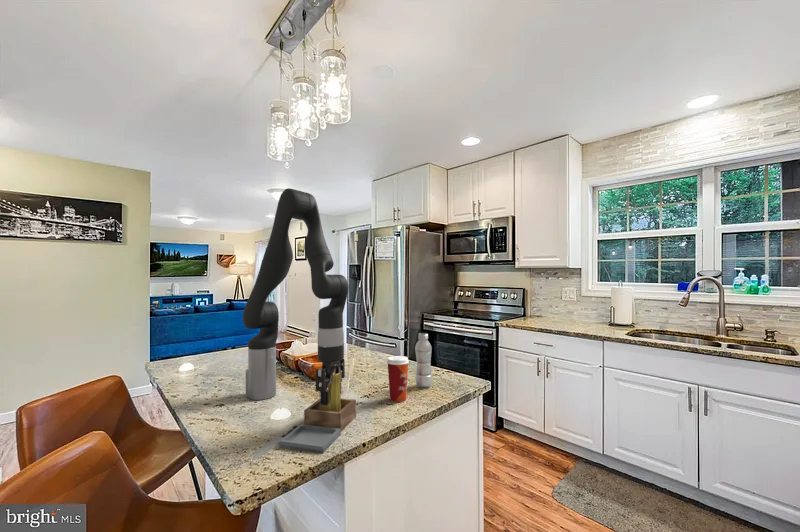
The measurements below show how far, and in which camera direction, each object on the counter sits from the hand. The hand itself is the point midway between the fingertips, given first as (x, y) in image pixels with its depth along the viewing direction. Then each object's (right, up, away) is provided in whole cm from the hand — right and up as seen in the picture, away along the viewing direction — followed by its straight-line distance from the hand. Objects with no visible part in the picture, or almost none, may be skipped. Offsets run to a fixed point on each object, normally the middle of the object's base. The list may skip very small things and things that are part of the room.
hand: (331, 399), depth 100 cm
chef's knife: (-13, -7, -12) cm, 19 cm away
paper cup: (+19, -7, +18) cm, 27 cm away
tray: (-3, -6, -11) cm, 13 cm away
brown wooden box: (0, -6, 0) cm, 6 cm away
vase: (0, -7, 0) cm, 7 cm away
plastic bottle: (+29, -7, +31) cm, 43 cm away
